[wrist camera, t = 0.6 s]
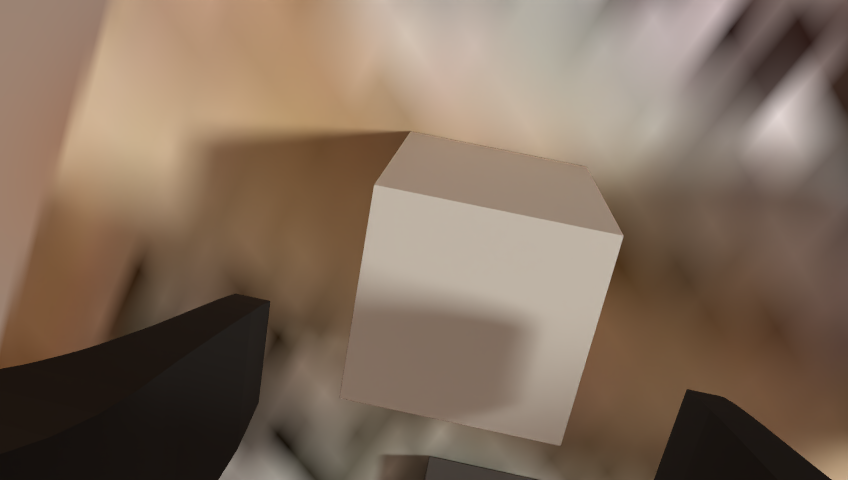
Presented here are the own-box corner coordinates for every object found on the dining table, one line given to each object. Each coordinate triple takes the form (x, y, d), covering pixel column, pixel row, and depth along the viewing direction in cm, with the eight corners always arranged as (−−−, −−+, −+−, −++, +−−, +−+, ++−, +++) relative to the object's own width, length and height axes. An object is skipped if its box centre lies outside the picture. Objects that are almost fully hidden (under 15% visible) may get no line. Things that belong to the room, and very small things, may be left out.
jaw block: (586, 166, 19) (624, 235, 13) (543, 325, 21) (560, 446, 15) (410, 131, 19) (374, 184, 14) (382, 291, 21) (339, 398, 15)
